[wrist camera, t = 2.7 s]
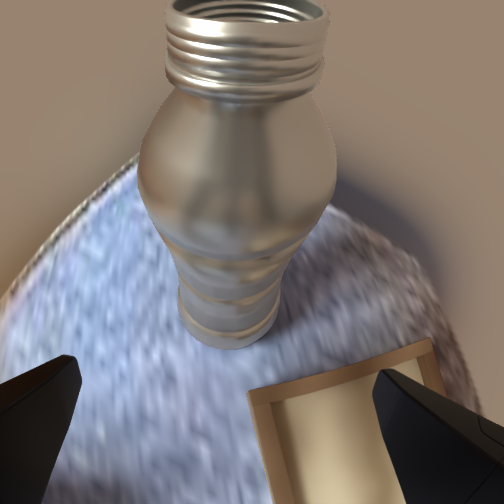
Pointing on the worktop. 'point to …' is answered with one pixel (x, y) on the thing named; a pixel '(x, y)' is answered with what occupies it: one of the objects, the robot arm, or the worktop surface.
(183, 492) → the worktop surface
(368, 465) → the stand
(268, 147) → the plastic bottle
